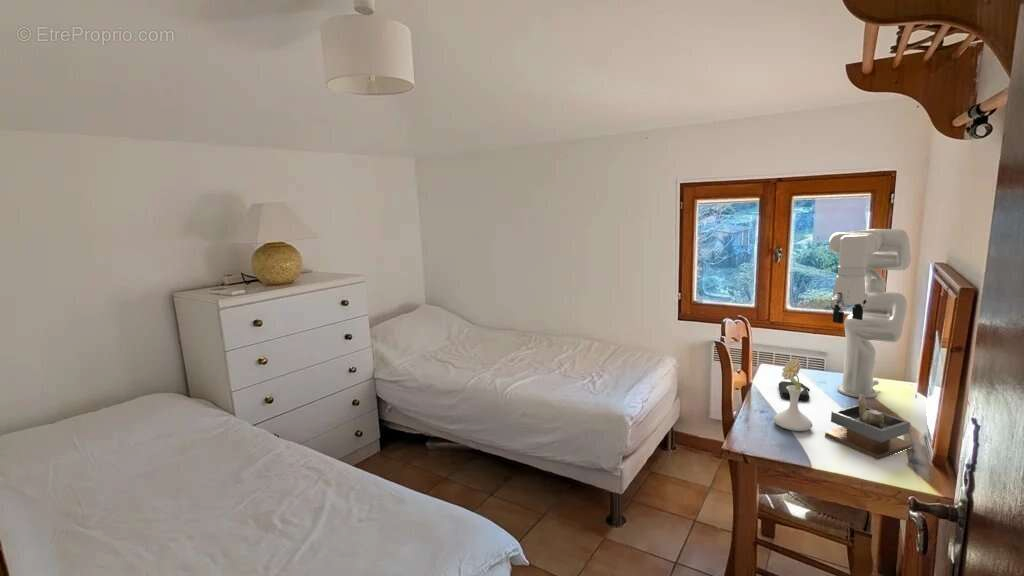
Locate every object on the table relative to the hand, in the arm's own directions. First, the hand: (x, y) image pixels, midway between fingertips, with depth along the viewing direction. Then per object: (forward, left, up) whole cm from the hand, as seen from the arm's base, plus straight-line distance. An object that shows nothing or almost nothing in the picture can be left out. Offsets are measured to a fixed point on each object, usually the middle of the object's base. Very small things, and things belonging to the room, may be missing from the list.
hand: (847, 320), depth 163 cm
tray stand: (+12, +17, -34) cm, 40 cm away
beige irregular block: (+11, +17, -28) cm, 35 cm away
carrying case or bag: (-2, -20, -35) cm, 40 cm away
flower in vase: (+24, 0, -34) cm, 42 cm away
